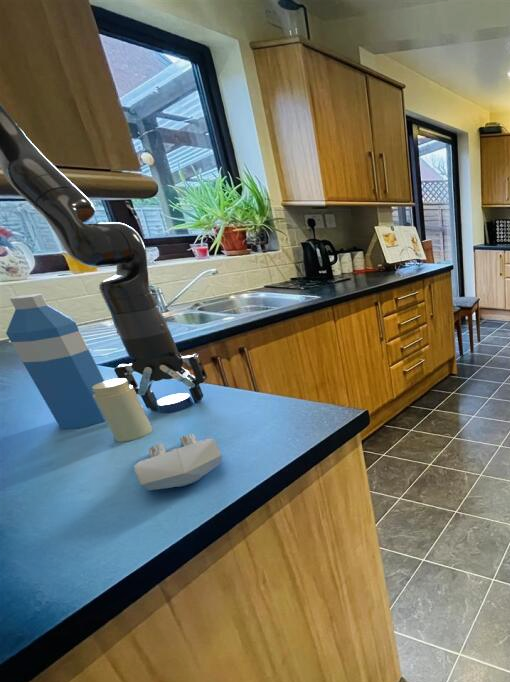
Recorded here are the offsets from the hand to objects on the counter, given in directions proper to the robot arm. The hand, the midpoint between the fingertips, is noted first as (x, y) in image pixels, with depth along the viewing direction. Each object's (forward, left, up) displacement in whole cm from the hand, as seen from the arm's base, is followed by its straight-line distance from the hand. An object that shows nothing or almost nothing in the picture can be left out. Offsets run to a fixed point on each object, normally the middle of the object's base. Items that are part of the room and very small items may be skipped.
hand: (177, 405), depth 86 cm
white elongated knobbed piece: (+10, -28, 0) cm, 30 cm away
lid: (0, 0, +1) cm, 1 cm away
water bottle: (-15, +1, 0) cm, 15 cm away
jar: (-3, -11, 0) cm, 12 cm away
